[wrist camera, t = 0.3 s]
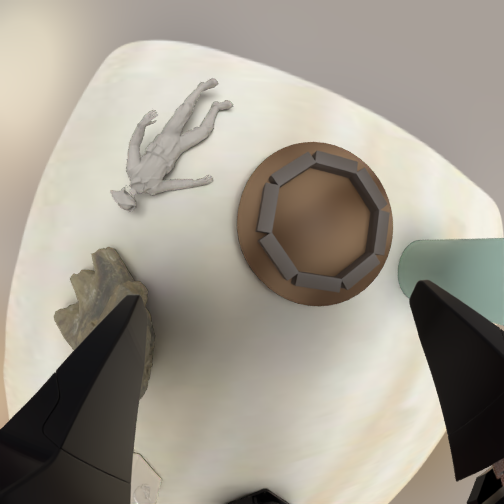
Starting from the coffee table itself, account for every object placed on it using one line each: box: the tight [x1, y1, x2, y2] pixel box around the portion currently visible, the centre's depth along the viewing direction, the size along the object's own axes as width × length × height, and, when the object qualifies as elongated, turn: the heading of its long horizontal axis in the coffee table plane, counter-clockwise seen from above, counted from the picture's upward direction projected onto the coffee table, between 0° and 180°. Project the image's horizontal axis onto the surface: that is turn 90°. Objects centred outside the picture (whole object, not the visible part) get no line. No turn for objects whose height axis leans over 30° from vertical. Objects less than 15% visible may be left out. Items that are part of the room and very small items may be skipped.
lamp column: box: [398, 238, 504, 326], centre depth 18 cm, size 6×6×13 cm
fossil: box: [54, 247, 155, 400], centre depth 18 cm, size 14×10×10 cm
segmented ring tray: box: [237, 142, 393, 306], centre depth 21 cm, size 13×13×4 cm
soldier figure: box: [110, 78, 233, 212], centre depth 20 cm, size 8×5×12 cm
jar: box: [130, 453, 162, 504], centre depth 16 cm, size 9×8×12 cm
